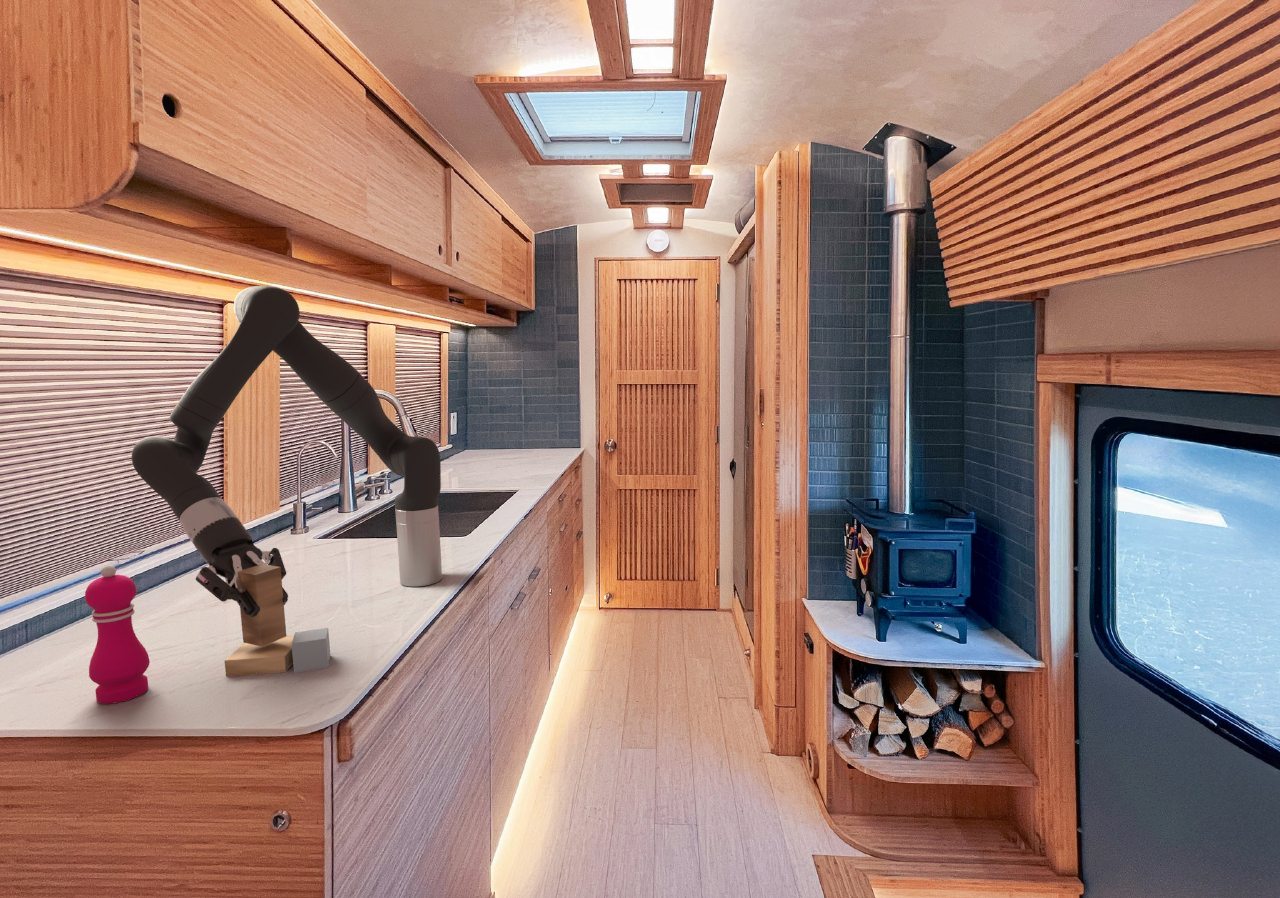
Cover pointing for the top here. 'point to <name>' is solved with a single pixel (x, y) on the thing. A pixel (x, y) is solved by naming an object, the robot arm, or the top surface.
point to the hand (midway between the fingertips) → (270, 608)
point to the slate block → (311, 650)
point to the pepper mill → (116, 640)
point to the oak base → (261, 658)
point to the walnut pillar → (264, 605)
